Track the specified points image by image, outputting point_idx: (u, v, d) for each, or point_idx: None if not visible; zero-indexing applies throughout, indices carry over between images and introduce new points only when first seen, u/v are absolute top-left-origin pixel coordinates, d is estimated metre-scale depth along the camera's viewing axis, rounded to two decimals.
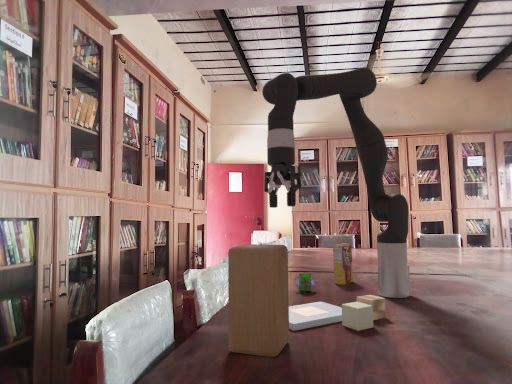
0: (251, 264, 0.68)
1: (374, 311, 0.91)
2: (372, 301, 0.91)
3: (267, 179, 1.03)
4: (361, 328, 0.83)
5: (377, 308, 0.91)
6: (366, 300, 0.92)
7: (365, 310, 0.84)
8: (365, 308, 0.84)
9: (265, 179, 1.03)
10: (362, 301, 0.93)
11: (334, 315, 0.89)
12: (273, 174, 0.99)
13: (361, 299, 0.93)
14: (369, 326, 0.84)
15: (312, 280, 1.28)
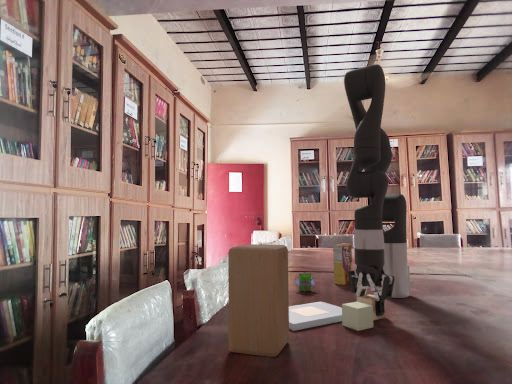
0: (251, 264, 0.68)
1: (374, 311, 0.91)
2: (372, 301, 0.91)
3: (352, 279, 0.98)
4: (361, 328, 0.83)
5: None
6: (366, 300, 0.92)
7: (365, 310, 0.84)
8: (365, 308, 0.84)
9: (350, 279, 0.98)
10: (362, 301, 0.93)
11: (334, 315, 0.89)
12: (361, 275, 0.94)
13: (361, 299, 0.93)
14: (369, 326, 0.84)
15: (312, 280, 1.28)
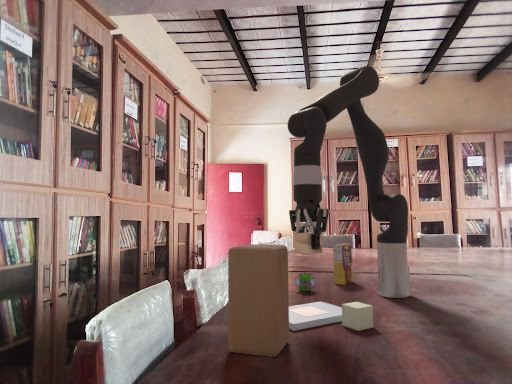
0: (251, 264, 0.68)
1: (309, 244, 0.92)
2: (307, 234, 0.91)
3: (293, 217, 0.99)
4: (361, 328, 0.83)
5: None
6: (302, 234, 0.93)
7: (365, 310, 0.84)
8: (365, 308, 0.84)
9: (291, 218, 0.99)
10: (299, 236, 0.94)
11: (334, 315, 0.89)
12: (299, 211, 0.95)
13: (298, 234, 0.94)
14: (369, 326, 0.84)
15: (312, 280, 1.28)
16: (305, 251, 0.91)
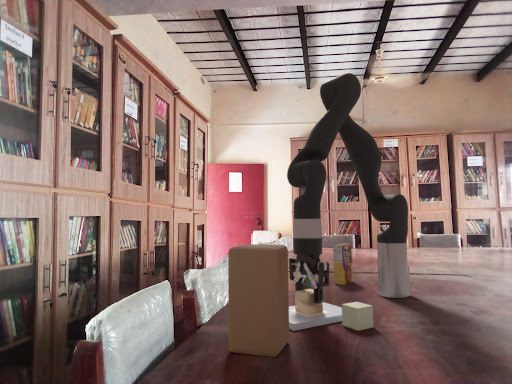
0: (251, 264, 0.68)
1: (310, 305, 0.91)
2: (308, 295, 0.90)
3: (292, 266, 0.99)
4: (361, 328, 0.83)
5: None
6: (303, 294, 0.92)
7: (365, 310, 0.84)
8: (365, 308, 0.84)
9: (290, 266, 0.99)
10: (300, 295, 0.93)
11: (334, 315, 0.89)
12: (299, 264, 0.94)
13: (299, 293, 0.93)
14: (369, 326, 0.84)
15: None
16: (305, 312, 0.90)
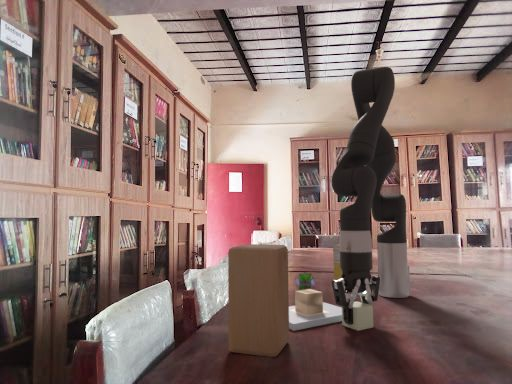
0: (251, 264, 0.68)
1: (310, 305, 0.91)
2: (308, 295, 0.90)
3: (369, 284, 0.90)
4: (361, 328, 0.83)
5: (314, 302, 0.91)
6: (303, 294, 0.92)
7: (365, 310, 0.84)
8: (365, 308, 0.84)
9: None
10: (300, 295, 0.93)
11: (334, 315, 0.89)
12: None
13: (299, 293, 0.93)
14: (369, 326, 0.84)
15: (312, 280, 1.28)
16: (305, 312, 0.90)
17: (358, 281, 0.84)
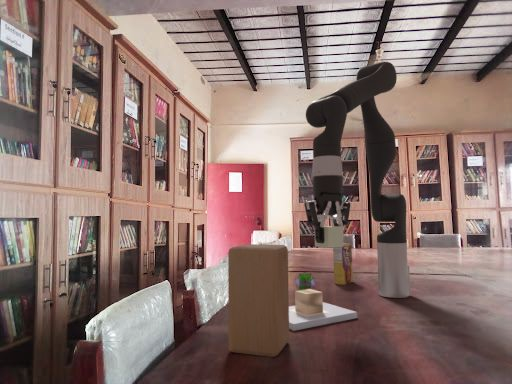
0: (251, 264, 0.68)
1: (310, 305, 0.91)
2: (308, 295, 0.90)
3: (340, 210, 0.95)
4: (331, 245, 0.88)
5: (314, 302, 0.91)
6: (303, 294, 0.92)
7: (336, 230, 0.89)
8: (336, 227, 0.89)
9: None
10: (300, 295, 0.93)
11: (334, 315, 0.89)
12: None
13: (299, 293, 0.93)
14: (339, 245, 0.89)
15: (312, 280, 1.28)
16: (305, 312, 0.90)
17: (329, 203, 0.89)
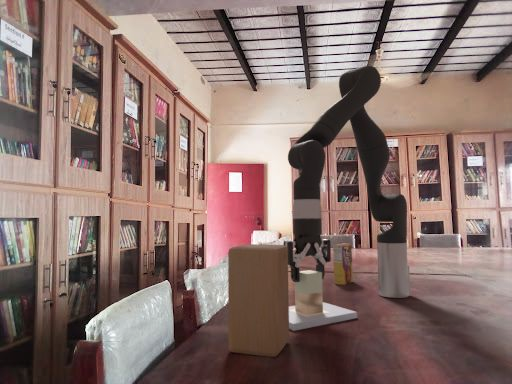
0: (251, 264, 0.68)
1: (310, 305, 0.91)
2: (308, 295, 0.90)
3: (322, 247, 0.98)
4: (310, 292, 0.91)
5: (314, 302, 0.91)
6: (303, 294, 0.92)
7: (314, 276, 0.92)
8: (314, 274, 0.92)
9: None
10: (300, 295, 0.93)
11: (334, 315, 0.89)
12: None
13: (299, 293, 0.93)
14: (318, 290, 0.92)
15: None
16: (305, 312, 0.90)
17: (308, 244, 0.92)
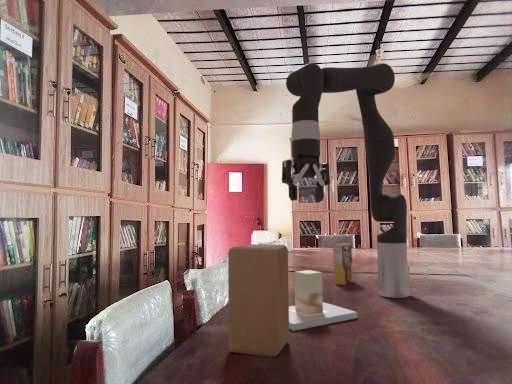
0: (251, 264, 0.68)
1: (310, 305, 0.91)
2: (308, 295, 0.90)
3: (320, 172, 1.00)
4: (310, 292, 0.91)
5: (314, 302, 0.91)
6: (303, 294, 0.92)
7: (314, 276, 0.92)
8: (314, 274, 0.92)
9: None
10: (300, 295, 0.93)
11: (334, 315, 0.89)
12: None
13: (299, 293, 0.93)
14: (318, 290, 0.92)
15: None
16: (305, 312, 0.90)
17: (306, 165, 0.94)
